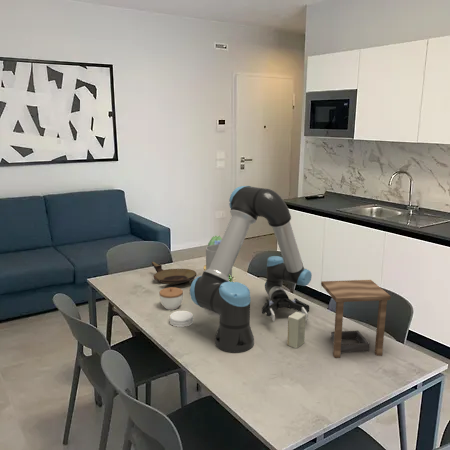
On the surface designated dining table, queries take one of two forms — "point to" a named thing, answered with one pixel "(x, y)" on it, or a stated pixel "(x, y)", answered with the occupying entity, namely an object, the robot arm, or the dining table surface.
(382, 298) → the awning stand
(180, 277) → the brown frying pan
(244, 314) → the robot arm
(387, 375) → the dining table surface
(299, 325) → the skincare box
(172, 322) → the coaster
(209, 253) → the cylinder vase
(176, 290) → the lidded jar
